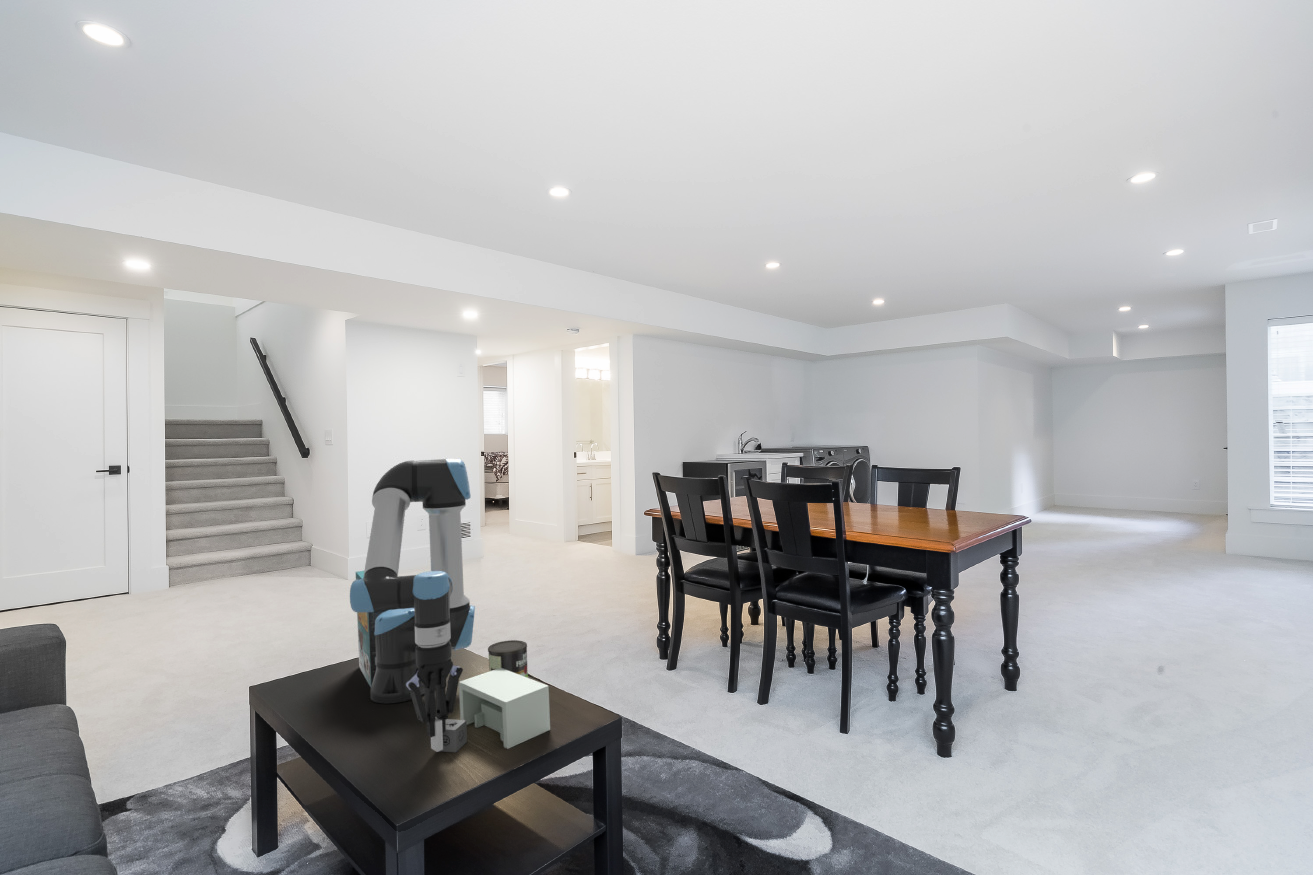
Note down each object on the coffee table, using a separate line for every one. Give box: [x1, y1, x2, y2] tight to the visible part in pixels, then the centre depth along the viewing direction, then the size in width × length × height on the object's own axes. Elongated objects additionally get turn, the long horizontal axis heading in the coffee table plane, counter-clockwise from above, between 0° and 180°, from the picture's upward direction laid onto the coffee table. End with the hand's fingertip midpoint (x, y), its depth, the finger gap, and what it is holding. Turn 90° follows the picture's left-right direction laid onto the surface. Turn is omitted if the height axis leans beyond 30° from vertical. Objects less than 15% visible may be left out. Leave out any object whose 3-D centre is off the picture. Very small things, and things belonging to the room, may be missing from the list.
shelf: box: [458, 668, 551, 750], centre depth 157 cm, size 20×12×10 cm, turn 47°
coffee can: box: [487, 639, 529, 678], centre depth 174 cm, size 10×10×14 cm
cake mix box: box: [355, 570, 388, 688], centre depth 196 cm, size 22×6×30 cm, turn 33°
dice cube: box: [440, 718, 468, 753], centre depth 148 cm, size 5×5×5 cm
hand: (437, 748), depth 144 cm, fingers closed
